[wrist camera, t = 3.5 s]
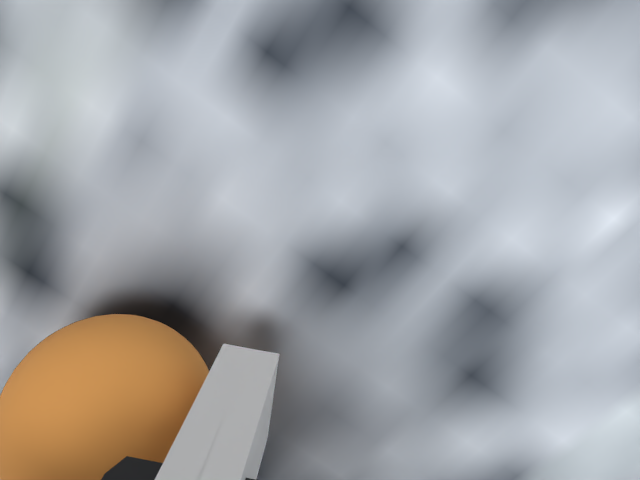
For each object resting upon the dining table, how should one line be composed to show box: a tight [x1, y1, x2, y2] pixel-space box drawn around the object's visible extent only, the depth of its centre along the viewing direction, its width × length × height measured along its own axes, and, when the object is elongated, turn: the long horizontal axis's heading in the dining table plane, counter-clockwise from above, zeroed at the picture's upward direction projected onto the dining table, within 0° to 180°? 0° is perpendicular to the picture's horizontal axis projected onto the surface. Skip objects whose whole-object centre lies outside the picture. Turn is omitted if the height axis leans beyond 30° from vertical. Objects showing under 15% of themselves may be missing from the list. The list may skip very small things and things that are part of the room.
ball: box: [0, 314, 209, 480], centre depth 14 cm, size 6×6×6 cm
